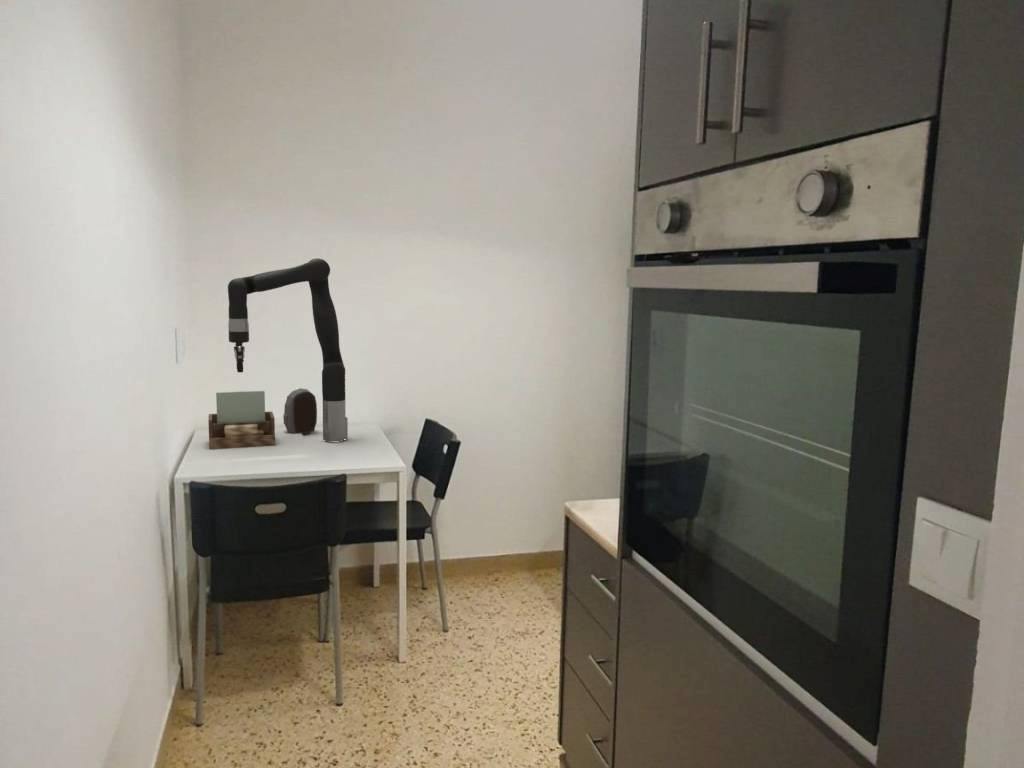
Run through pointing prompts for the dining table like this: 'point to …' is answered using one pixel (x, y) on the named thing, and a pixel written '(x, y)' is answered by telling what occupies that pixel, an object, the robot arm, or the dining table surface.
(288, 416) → the grey rounded bag
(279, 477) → the dining table surface
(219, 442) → the rack
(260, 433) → the offcut middle
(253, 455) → the dining table surface
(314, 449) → the dining table surface
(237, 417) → the sheet
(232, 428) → the offcut top
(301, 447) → the dining table surface
